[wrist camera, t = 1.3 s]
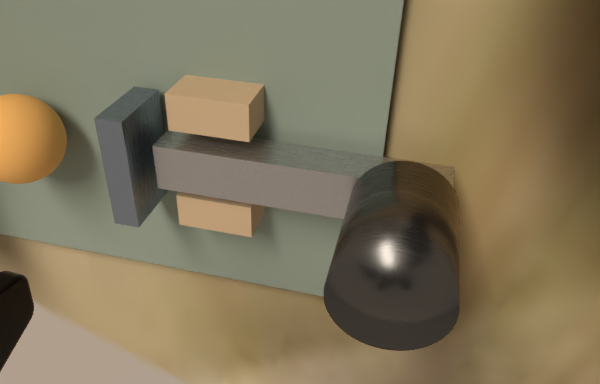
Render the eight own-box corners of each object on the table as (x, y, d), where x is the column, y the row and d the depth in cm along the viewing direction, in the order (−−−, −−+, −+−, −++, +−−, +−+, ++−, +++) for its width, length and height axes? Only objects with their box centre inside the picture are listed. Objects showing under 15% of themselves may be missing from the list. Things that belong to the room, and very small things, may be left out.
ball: (75, 85, 21) (17, 124, 19) (91, 162, 23) (41, 207, 21) (-3, 75, 22) (-71, 111, 19) (19, 150, 24) (-40, 193, 21)
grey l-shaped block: (470, 131, 18) (475, 252, 13) (446, 234, 21) (443, 371, 16) (134, 86, 21) (22, 175, 15) (148, 184, 23) (56, 290, 18)
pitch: (408, -33, 17) (402, -15, 15) (364, 295, 25) (356, 334, 23) (-196, -83, 21) (-263, -75, 19) (-70, 212, 29) (-108, 240, 27)
